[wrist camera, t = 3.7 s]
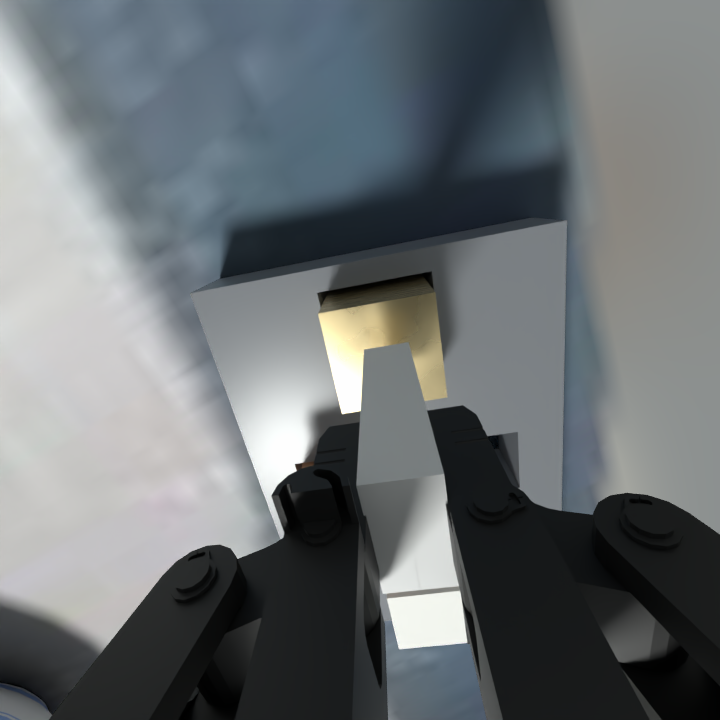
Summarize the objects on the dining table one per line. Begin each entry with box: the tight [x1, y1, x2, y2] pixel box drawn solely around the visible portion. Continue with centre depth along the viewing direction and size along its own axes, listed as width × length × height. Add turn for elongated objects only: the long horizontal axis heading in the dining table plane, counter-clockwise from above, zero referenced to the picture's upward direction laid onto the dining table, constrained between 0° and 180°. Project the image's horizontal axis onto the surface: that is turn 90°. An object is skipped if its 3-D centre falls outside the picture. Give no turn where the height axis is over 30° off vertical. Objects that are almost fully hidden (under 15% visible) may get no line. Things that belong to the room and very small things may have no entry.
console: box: [190, 218, 567, 621], centre depth 21 cm, size 23×16×4 cm
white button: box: [387, 586, 467, 649], centre depth 22 cm, size 4×4×4 cm
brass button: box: [318, 274, 447, 414], centre depth 16 cm, size 4×4×4 cm
